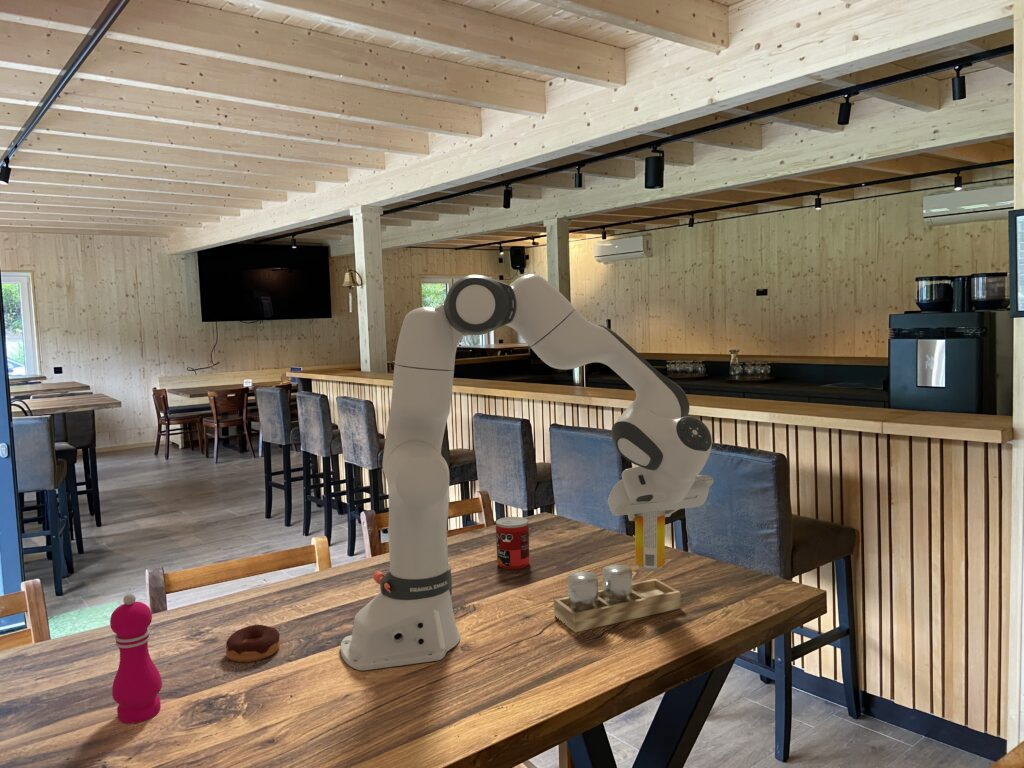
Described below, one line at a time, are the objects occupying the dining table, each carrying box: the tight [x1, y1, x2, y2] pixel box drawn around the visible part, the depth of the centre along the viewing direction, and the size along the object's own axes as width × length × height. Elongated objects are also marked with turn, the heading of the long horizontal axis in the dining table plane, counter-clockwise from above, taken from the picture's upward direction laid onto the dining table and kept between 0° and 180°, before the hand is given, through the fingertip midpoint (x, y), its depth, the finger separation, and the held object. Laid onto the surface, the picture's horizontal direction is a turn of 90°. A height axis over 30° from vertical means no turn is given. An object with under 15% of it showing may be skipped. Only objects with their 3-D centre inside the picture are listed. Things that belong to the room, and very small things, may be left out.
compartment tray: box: [553, 578, 682, 633], centre depth 158 cm, size 25×9×4 cm, turn 114°
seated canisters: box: [567, 564, 633, 613], centre depth 156 cm, size 14×6×7 cm, turn 114°
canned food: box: [495, 516, 530, 570], centre depth 188 cm, size 8×8×11 cm
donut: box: [225, 624, 281, 663], centre depth 145 cm, size 10×10×4 cm
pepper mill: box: [109, 593, 163, 724], centre depth 123 cm, size 7×7×20 cm
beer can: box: [634, 510, 666, 572], centre depth 160 cm, size 6×6×15 cm
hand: (648, 516), depth 160 cm, fingers closed on beer can, 6 cm apart
